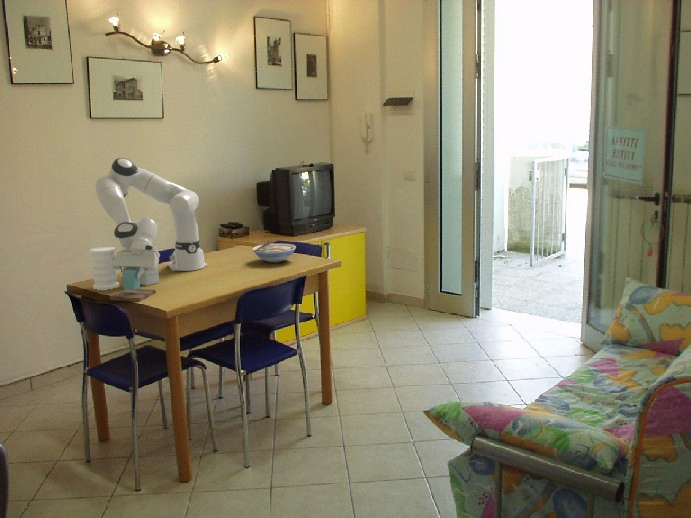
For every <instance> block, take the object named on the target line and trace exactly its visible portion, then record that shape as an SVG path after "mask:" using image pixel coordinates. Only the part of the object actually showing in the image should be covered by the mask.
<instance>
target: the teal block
mask: <svg viewBox="0 0 691 518" xmlns="http://www.w3.org/2000/svg"><path fill="white" fill-rule="evenodd" d="M138 272H139V269H127V270H124V271H123V278H122V285H123V290H125V289H126V290H135V289H141V284H140V278H136V277H135V275H136V273H138Z"/></svg>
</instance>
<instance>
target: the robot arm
mask: <svg viewBox="0 0 691 518" xmlns="http://www.w3.org/2000/svg"><path fill="white" fill-rule="evenodd" d="M130 187H134V189H136V190H138V191H140V193H143V194H145V195H147V196H148V197H150V198H152V199H154V200H155V201H158V202H160V203H164V204H167V205H169V209H170V210H171V212H172V213H171V214H172V218H173V222H174V227H175V237H176V238H175V239H176V241H175V250H174V251H173V252H172V254H171V255H170V256H169V261H171V262H169V263H167V266H168V267H169V269H170V271H173V272H174V271H175V272H177V271H180V272H181V271H182V272H187V271H188V272H189V271H190V272H191V271H196V270H197V271H198V270H201V269H203V268H205V267H207V266H208V263H207V262H205V256H204V255H205V254H204V250H203V249H201V242H200V238H199V225H198V223H197V218H196V215H195V210H196V209H197V208H198V207H199V203H200V198H199V195H198V194H197V193H196V192H194V190H190V189H188V188H185V187H183V186H181V185H179V184H176V183H173V182H171V181H168V180H167V179H165V178H163V177H161V176H160V175H158V174H156V173H154V172H151V171H149V170H147V169H144V168H142V167H139V166H136V164H134V163H133V162H132V161H131V160H130V159H128V158H125V157H118V158H116V159H115V160H113V162H112V164H111V167H110V170H109V172H108V175H105V176H101V177H99V178H98V179H97V180H96V183H95V190H96V191H95V192H96V195H97V199H98V201H99V203H100V205H101V207H102V208H103V210H104V211H105V212H106V214H108V215H109V217H110V218H111V219H112V220H113V221H114V222H115V224H116V227H115V229H114V232H113V234H114V237H115V238H116V239H117V241H118V243H119V244H120V246H121V247H122V249H121V250H119V251H117V253H116V255H115V258H114V260H113V263H112V265H113V267H114V268H115V269H116V270H121V278H122V279H123V271H124V270H127V269H139V270H140V271H139V272H138V273H136V275H135V277H136V278H140V276H141V275H142V274H143V273H144V272H145V270H147V271H155V270H156V269H157V267H158V268H159V262H160V256H161V254H160V252H159V251H158V249H157V248H156V247H155V246H153V244H154V242H155V240H156V236H157V233H158V228H159V227H158V224H157V222H156V221H155V220H153V219H152V218H150V217H142V218H140V219H139V220H136V221H135V220H134V221H132V220H131V217H130V213H129V210H128V207H127V203H126V199H125V198H126V196H127V194H128V191H129V189H130Z"/></svg>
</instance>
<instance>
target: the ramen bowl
mask: <svg viewBox="0 0 691 518" xmlns="http://www.w3.org/2000/svg"><path fill="white" fill-rule="evenodd" d="M296 248H297V246H296V245H295V244H292V243H291V244H290V243H273V241H270V240H268V241H266V242H265V243H264V244H261V245H256V246H254V247H252V251H253V253H254V254H255V255H256V256H257V258H259V259H260V260H262V261H266V262H267V263H270V264H271V263H275V264H276V263H281V262H282V261H284V260H287V259H289V258H291V256H292V255H293V254H294V252H295V250H296Z"/></svg>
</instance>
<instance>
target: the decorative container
mask: <svg viewBox="0 0 691 518" xmlns="http://www.w3.org/2000/svg"><path fill="white" fill-rule="evenodd" d="M115 251H116V247H115V246H109V245H108V246H97V247H92V248H89V252H90V254H91V261H92V265H91V267H92V273H93V281H94V284H93V285H92V289H93V290H95V289H97V290H96V291H108V289H110V290H114V289H113V288H115V289H117V288H119V287H120V282H119V281H117V279H118V276H117V269H115V268H114V267H113V265H112V263H113V260H114V258H115V257H116V255H115Z"/></svg>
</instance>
